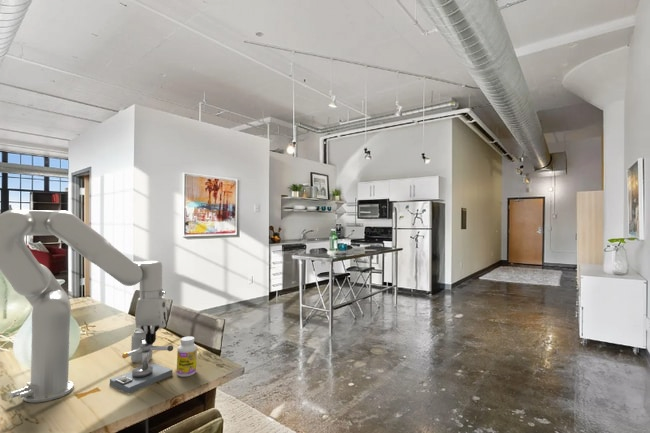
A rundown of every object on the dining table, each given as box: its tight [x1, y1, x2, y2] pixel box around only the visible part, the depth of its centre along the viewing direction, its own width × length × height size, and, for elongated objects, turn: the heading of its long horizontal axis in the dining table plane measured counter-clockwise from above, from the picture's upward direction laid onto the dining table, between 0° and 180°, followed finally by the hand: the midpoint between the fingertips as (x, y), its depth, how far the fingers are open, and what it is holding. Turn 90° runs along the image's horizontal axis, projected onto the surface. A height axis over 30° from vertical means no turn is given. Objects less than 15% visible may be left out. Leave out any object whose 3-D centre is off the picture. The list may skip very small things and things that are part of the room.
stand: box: [109, 362, 173, 395], centre depth 121 cm, size 16×11×4 cm
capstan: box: [121, 338, 174, 378], centre depth 121 cm, size 14×17×10 cm
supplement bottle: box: [176, 335, 198, 378], centre depth 127 cm, size 7×7×13 cm
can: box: [130, 328, 154, 364], centre depth 138 cm, size 8×8×12 cm
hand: (150, 343), depth 129 cm, fingers closed
